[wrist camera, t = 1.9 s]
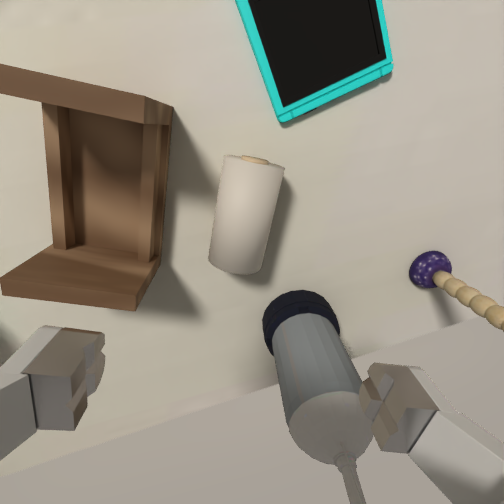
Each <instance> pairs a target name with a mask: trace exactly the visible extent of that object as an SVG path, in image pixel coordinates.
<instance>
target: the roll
mask: <svg viewBox="0 0 504 504" xmlns="http://www.w3.org/2000/svg"><path fill="white" fill-rule="evenodd" d="M284 170H285V168H284V167H282V166H279V165H276V164H272V163H269V161H267V160H263V159H260V158H255V157H250V156H242V157H240V156H233V155H224V158H223V164H222V171H221V177H220V184H219V191H218V197H217V204H216V210H215V217H214V223H213V230H212V236H211V243H210V249H209V256H208V259H209V262H210V263H211V264H212V265H213V266H215V267H216V268H218V269H220V270H223V271H226V272H229V273H234V274H253V273H256V272H258V271H259V270H260V269H261V267H262V263H263V258H264V254H265V250H266V246H267V242H268V237H269V233H270V229H271V225H272V221H273V216H274V212H275V208H276V204H277V199H278V195H279V191H280V187H281V183H282V178H283V174H284Z"/></svg>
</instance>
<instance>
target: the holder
mask: <svg viewBox="0 0 504 504" xmlns="http://www.w3.org/2000/svg"><path fill="white" fill-rule="evenodd" d="M0 93H1V94H6V95H10V96H15V97H20V98H25V99H29V100H34V101H39V102H42V113H43V125H44V138H45V150H46V162H47V174H48V186H49V199H50V211H51V223H52V235H53V244H52V245H50V246H49V247H47V248H46V249H44V250H43V251H41V252H40V253H38V254H36V255H35V256H33V257H32V258H30V259H29V260H27V261H25V262H24V263H22V264H21V265H19V266H18V267H16V268H14V269H13V270H11V271H10V272H8V273H7V274H5V275H3V276H2V277H0V284H1V290H2V295H4V296H12V297H21V298H29V299H37V300H45V301H54V302H62V303H70V304H78V305H86V306H95V307H103V308H111V309H119V310H128V311H136V309H137V307H138V305H139V303H140V301H141V300H142V298H143V296H144V294H145V292H146V290H147V288H148V286H149V285H150V283H151V281H152V279H153V277H154V275H155V273H156V271H157V270H158V268H159V266H160V262H161V250H162V238H163V225H164V213H165V200H166V188H167V176H168V163H169V151H170V138H171V126H172V114H173V107H172V106H169V105H167V104H164V103H161V102H159V101H156V100H153V99H151V98H148V97H146V96H142V95H137V94H133V93H128V92H124V91H119V90H115V89H111V88H106V87H102V86H97V85H93V84H88V83H84V82H79V81H75V80H70V79H66V78H62V77H57V76H53V75H48V74H44V73H39V72H35V71H30V70H26V69H21V68H17V67H13V66H8V65H4V64H0Z"/></svg>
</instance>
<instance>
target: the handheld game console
mask: <svg viewBox="0 0 504 504" xmlns="http://www.w3.org/2000/svg"><path fill="white" fill-rule="evenodd" d="M235 2H236V4H237V7H238V10H239V13H240V16H241V18H242V21H243V24H244V27H245V30H246V33H247V35H248V38H249V41H250V44H251V47H252V49H253V52H254V55H255V58H256V61H257V63H258V66H259V69H260V72H261V75H262V77H263V80H264V83H265V86H266V89H267V91H268V94H269V97H270V100H271V103H272V105H273V108H274V111H275V114H276V117H277V119H278V121H279V122H281V123H284V122H287V121H289V120H291V119H293V118H295V117H297V116H299V115H302V114H306V113H308V112H310V111H312V110H314V109H316V107H319V106H321V105H323V104H325V103H327V102H329V101H331V100H333V99H336V98H338V97H340V96H342V95H344V94H346V93H348V92H350V91H352V90H355V89H357V88H359V87H361V86H363V85H365V84H367V83H369V82H372V81H374V80H376V79H378V78H380V77H382V76H384V75H386V74H389V73H390V72H391V71H392V69H393V64H391V62H392V61H393V59H392V54H391V48H390V43H389V37H388V32H387V26H386V21H385V15H384V10H383V4H382V0H235Z"/></svg>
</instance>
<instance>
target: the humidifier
mask: <svg viewBox="0 0 504 504" xmlns="http://www.w3.org/2000/svg"><path fill="white" fill-rule="evenodd" d="M262 322H263V332H264V339H265V342H266V345H267V347H268V349H269V351H270V353H271V354H272V355H273V356H274V358H275V363H276V369H277V374H278V379H279V385H280V390H281V396H282V401H283V406H284V411H285V417H286V422H287V425H288V427H289V432H290V434H291V436H292V438H293V439H294V441H295V443H296V444H297V445H298V447H299V448H301V449H302V450H303V451H304V452H305V453H307V454H308V455H309V456H311V457H312V458H314V459H316V460H318V461H320V462H323V463H326V464H333V465H336V466H337V467H338V470H339V471H340V472H341V473H342V475H343V479H344V482H345V486H346V490H347V493H348V497H349V500H350V504H366V502H365V499H364V495H363V492H362V489H361V486H360V482H359V479H358V475H357V472H356V468H357V465H356V462H355V461H356V459H357V458H358V457H359V456H361V455H362V454H363V453H364V452H365V450H366V448H367V447H368V445H369V443H370V442H371V440H372V437H373V435H374V434H373V432H372V430H371V424H372V421H371V420H370V419H369V418H368V417H367V416H366V415H365V414H364V413H363V410H362V408H361V405H360V401H359V389H360V387H361V384H362V380H361V378H360V376H359V375H358V373H357V371H356V369H355V367H354V365H353V363H352V361H351V359H350V357H349V355H348V353H347V351H346V349H345V347H344V345H343V343H342V342H341V340H340V338H339V334H340V328H339V324H338V321H337V318H336V315H335V314H334V312H333V310H332V308H331V306H330V305H329V303H328V302H327V301H326V300H325V299H324V297H322V296H320V295H319V294H317V293H315V292H311V291H306V290H297V291H290V292H288V293H285V294H282V295H280V296H279V297H277V298H276V299H275V300H273V301H272V302H271V303H270V304H269V306H268V307H267V308H266V310H265V312H264V316H263V319H262Z"/></svg>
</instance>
